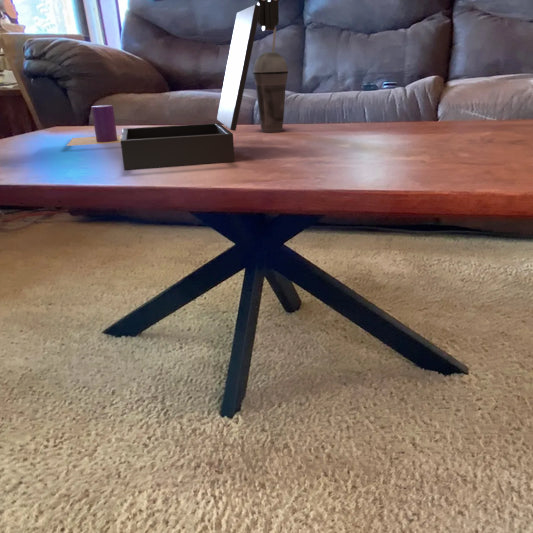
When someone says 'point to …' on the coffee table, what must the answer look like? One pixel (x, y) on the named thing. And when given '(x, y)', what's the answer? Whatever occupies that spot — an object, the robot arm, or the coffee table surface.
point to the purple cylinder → (104, 123)
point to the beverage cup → (271, 89)
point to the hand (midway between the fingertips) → (268, 30)
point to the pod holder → (176, 146)
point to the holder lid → (238, 66)
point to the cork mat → (90, 141)
